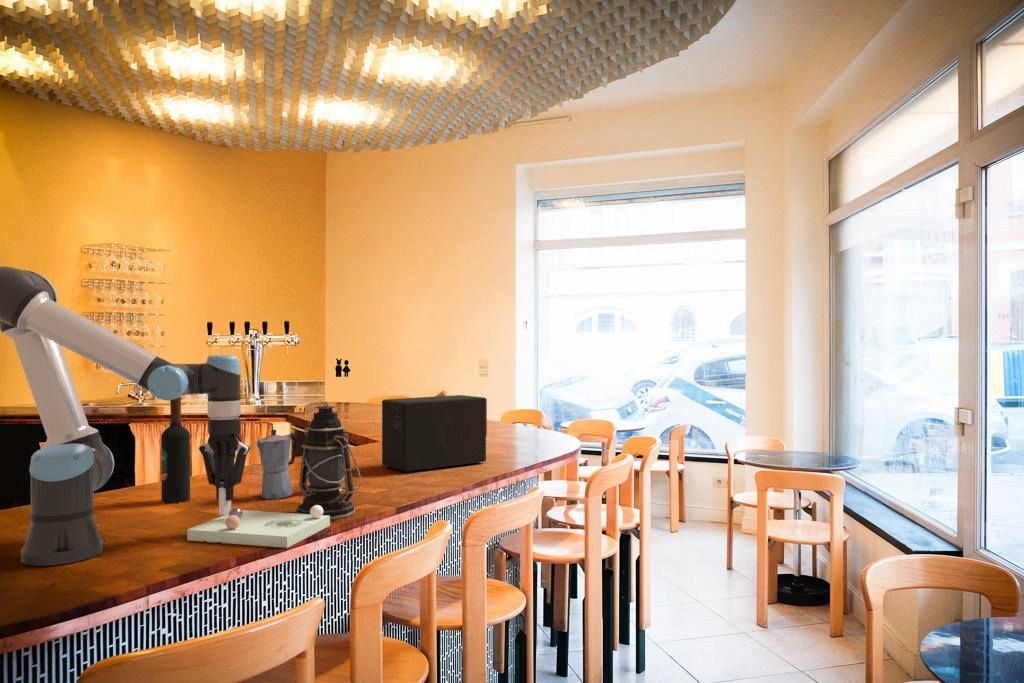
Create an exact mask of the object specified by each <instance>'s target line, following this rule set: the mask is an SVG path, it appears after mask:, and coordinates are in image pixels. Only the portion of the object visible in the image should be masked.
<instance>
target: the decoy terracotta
mask: <svg viewBox="0 0 1024 683" xmlns="http://www.w3.org/2000/svg"><path fill="white" fill-rule="evenodd" d="M225 524H226V526H227V527H228V528H229V529H235V528H237V527H238V526H239V524H240V519H239V517H238V516H236V515H231V516H229V517H228V518H227V519H226V522H225Z"/></svg>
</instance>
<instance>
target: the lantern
mask: <svg viewBox="0 0 1024 683" xmlns="http://www.w3.org/2000/svg"><path fill="white" fill-rule="evenodd" d="M335 408H336V406H334V405H329V402H327V401H326V402H324V403H323V405H320V406H316V407H315V409H318V411H317V412H314V413H313V419H312V420H311V422H310V425H309V426H307V427H304V429H303V430H304V437H305V439H303V441H302V445H300V448H302V456H301V463H300V465H301V466H300V474H299V483H298V486H299V488H300V490H301V492H302V495H303V499H302V503H301V504H299V505H297V507H296V513H295V514H310V510H311V508H312V507H313V506H315V505H319V506H321V507H322V508H323V515H326V516H330V521H336V520H341V519H347V518H348V517H351V516H353V515H355V514H356V508H355V503H354V502H352V501H350V500H351V498H352V497H353V495H354V493H355V491H359V489H361V487H362V486H363V481H362V476H361V474H360V469H359V467H358V464H357V462H356V459H355V456H354V455H353V454H354V453H353V451H352V449H351V444H350V443H349V434H347V433H344V430H347V429H348V427H346V426H343V425H342V423H341V420H340V419H339V418H338V412H337V411H334V410H333V409H335ZM350 455H351V457H352V459H353V462H354V466H356V470H357V473H358V476H359V477H358V478H359V481H360V484H359V485H358V487H357V488H354V484H353V482H354V481H353V475H352V466H351V458H350ZM342 481H344V483H341V482H342ZM308 484H309V485H308ZM340 489H342V490H345V493H344V494H343V493H341V492H340V491H339V490H340Z"/></svg>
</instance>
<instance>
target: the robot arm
mask: <svg viewBox="0 0 1024 683" xmlns="http://www.w3.org/2000/svg"><path fill="white" fill-rule="evenodd" d="M0 331H1V334H2V335H3V336H5V337H7V338H9V339H11V340H12V341H13V345H14V347H15V349H16V353H17V356H18V358H19V359H18V360H19V361H20V364H21V367H22V370H23V373H24V376H25V378H26V380H27V384H28V386H29V390H30V391H31V392H30V393H31V395H32V398H33V401H34V404H35V406H36V409H37V412H38V415H39V419H40V421H41V423H42V427H43V429H44V432H45V435H46V437H47V438H46V441H45V443H44V445H43V447H42V448H40V449H38V450H35V452H33V454H32V455H31V458H30V465H29V469H28V471H29V473H30V474H29V475H30V476H29V477H30V478H29V479H30V490H29V492H30V525H29V528H28V531H27V532H26V533H27V534H26V537H25V541H24V545H23V546H22V547H21V550H20V562H21V564H23V565H26V566H31V567H32V566H33V567H37V566H38V567H47V566H59V565H67V564H72V563H78V562H80V561H85V560H88V559H91V558H94V557H96V556H98V555H100V554H101V553H102V552H103V550H104V548H103V547H104V545H103V542H104V541H103V537H102V536H100V533H99V532H100V531H99V529H98V525H97V522H96V520H95V517H94V514H95V513H94V506H95V505H94V501H95V500H94V492H96V491H97V490H99V489H101V488H103V487H104V485H105V484H107V482H108V481H109V479H110V478H111V476H112V474H113V471H114V468H115V459H114V455H113V453H112V451H111V450H110V449H109V447H108V446H106V444H104V443H103V440H102V437H101V435H100V434H101V433H100V432H99V430H98V429H97V428H95V427H93V426H90V425H89V423H88V419H87V417H86V414H85V411H84V407H83V405H82V403H81V402H82V401H81V400H80V397H79V394H78V391H77V388H76V385H75V382H74V379H73V376H72V374H71V371H70V368H69V366H68V363H67V359H66V356H65V353H64V352H63V349H62V347H64V348H65V349H67V350H70V351H71V352H74V353H75V354H77V355H80V356H81V357H83V358H85V359H87V360H89V361H91V362H93V363H95V364H97V365H99V366H101V367H102V368H105V369H107V370H109V371H110V372H112V373H114V374H117V375H118V376H121V377H122V378H124V379H126V380H128V381H130V382H132V383H134V384H136V385H138V386H139V387H141V388H142V389H144V390H146V391H149V392H150V393H151V395H152V397H153V396H154V397H155V398H156V399H159V400H163V401H170V400H173V399H177V398H179V397H181V396H185V395H187V396H188V395H207V417H208V418H209V419H208V420H207V433H208V434H209V436H208V439H207V442H206V443H205V444H204V445H203V444H202V445H200V446H199V447H198V449H199V452H200V454H201V455H202V458H203V463H204V468H205V473H206V476H207V483H208V484H209V485H210V486H211V485H212V486H214V487H215V488H216V489H215V490H216V491H215V494H216V495H215V498H216V500H217V501H218V516H224V515H227V514H229V512H230V510H231V509H232V501H233V500H234V496H235V494H234V486H237V485H240V484H241V482H242V479H243V476H244V474H243V473H244V471H245V470H244V469H245V464H246V459H247V455H248V454H249V453H250V450H251V446H249V445H245V444H244V443H242V438H241V436H240V435H241V429H242V428H241V427H242V423H241V420H242V419H241V418H240V416H241V365H240V364H241V362H240V357H239V356H237V355H235V354H221V355H219V354H216V355H215V354H212V355H209V356H207V360H206V362H204V363H203V362H202V363H171V362H170V361H168V360H166V359H164V358H162V357H160V356H159V355H156V354H154V353H152V352H150V351H148V350H147V349H145V348H143V347H141V346H139V345H137V344H136V343H133V342H132V341H130V340H128V339H126V338H124V337H123V336H122V337H121V336H120V335H118V334H116V333H114V332H112V331H111V330H109V329H107V328H105V327H103V326H102V325H100V324H97V323H95V322H94V321H92V320H90V319H88V318H87V317H84V316H82V315H80V314H79V313H77V312H75V311H73V310H71V309H69V308H67V307H65V306H63V305H61V304H60V303H58V294H57V291H56V289H55V287H54V285H53V284H52V283H51V282H50V281H49V280H48V279H47V278H46V277H44V276H42V275H41V274H39V273H37V272H35V271H33V270H32V271H31V270H27V269H19V268H17V267H11V266H0ZM236 452H237V453H236Z"/></svg>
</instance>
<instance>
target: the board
mask: <svg viewBox="0 0 1024 683" xmlns="http://www.w3.org/2000/svg"><path fill="white" fill-rule="evenodd" d="M241 510H242V509H241ZM242 512H243V515H242V518H241V519H240V524H239V526H238V527H237V528H235V529H229V528H228V527H227V526H226V524H225V522H226V519H227V518H228V517H229V513H228V514H226V515H221V516H219V517H217V518H214V519H211V520H209V521H207V522H203V523H201V524H198V525H196V526H193V527H190V528H188V529H187V530H186V532H187V534H186V535H187V537H186V538H187V539H186V540H187V541H193V542H204V541H206V542H205V543H217V542H221V543H220V544H233V545H247V546H259V547H270V548H285V549H288V548H289V547H292V546H293V545H296V544H297V543H299V542H301V541H303V540H305V539H307V538H309V537H311V536H313V535H314V534H317V533H319V532H320V531H322V530H325V529H326V528H328V527H330V526H331V520H330V516H326V515H322V516H321V517H320V518H313V517H312V516H311V514H296V513H294V512H293V513H291V512H277V511H275V512H274V511H261V510H259V511H258V510H244V509H243V510H242Z"/></svg>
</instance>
